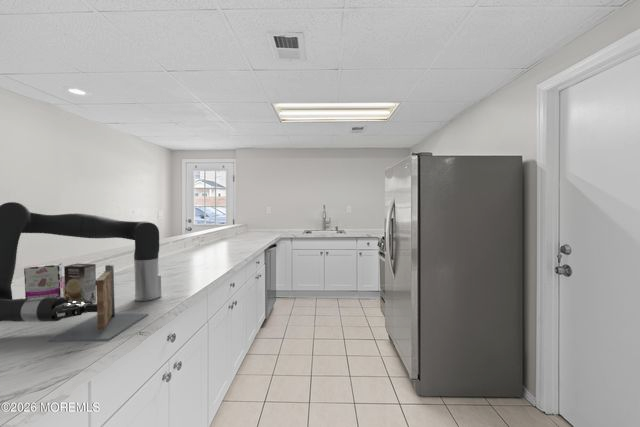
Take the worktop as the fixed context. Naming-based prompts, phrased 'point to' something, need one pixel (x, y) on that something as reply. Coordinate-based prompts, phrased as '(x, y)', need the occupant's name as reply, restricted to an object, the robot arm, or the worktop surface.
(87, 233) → the robot arm
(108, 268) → the hinge post
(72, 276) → the coffee box
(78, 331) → the mat
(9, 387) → the worktop surface
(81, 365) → the worktop surface
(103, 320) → the gate
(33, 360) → the worktop surface
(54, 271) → the candy bar box
